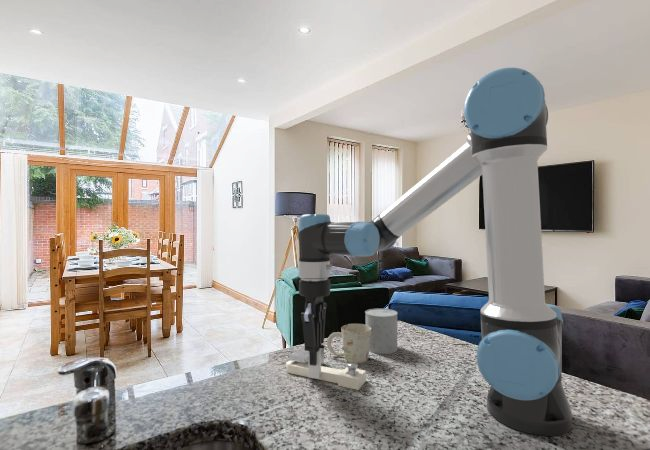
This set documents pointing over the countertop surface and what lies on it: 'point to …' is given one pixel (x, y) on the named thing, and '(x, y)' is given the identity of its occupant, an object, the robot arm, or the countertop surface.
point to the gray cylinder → (382, 330)
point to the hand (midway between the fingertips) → (314, 376)
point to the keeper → (304, 355)
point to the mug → (353, 342)
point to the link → (330, 374)
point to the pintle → (352, 368)
